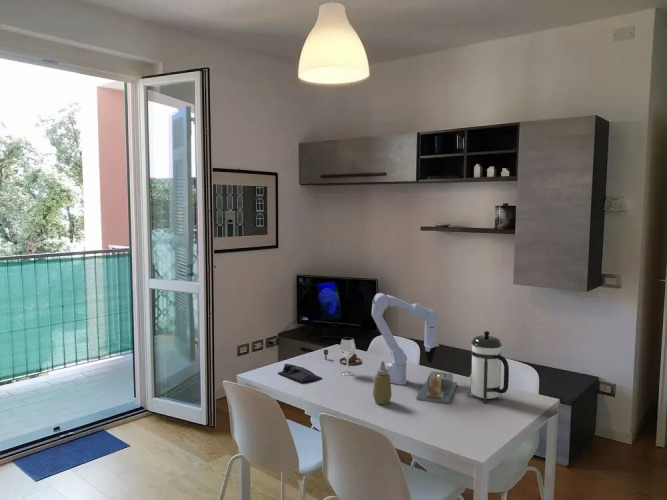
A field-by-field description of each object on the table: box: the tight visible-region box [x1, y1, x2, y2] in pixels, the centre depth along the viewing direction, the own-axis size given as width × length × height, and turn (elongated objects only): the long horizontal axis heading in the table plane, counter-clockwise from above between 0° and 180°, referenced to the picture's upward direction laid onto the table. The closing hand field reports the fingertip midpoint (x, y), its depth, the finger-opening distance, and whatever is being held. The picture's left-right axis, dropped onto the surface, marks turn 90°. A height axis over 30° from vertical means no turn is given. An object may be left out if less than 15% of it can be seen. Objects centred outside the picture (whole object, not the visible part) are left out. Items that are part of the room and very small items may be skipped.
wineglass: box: [339, 336, 357, 377], centre depth 253 cm, size 8×8×18 cm
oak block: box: [429, 377, 441, 396], centre depth 223 cm, size 4×4×6 cm
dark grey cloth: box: [277, 363, 323, 383], centre depth 250 cm, size 15×22×5 cm
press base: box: [415, 371, 458, 405], centre depth 228 cm, size 14×26×5 cm, turn 159°
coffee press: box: [467, 330, 510, 404], centre depth 219 cm, size 17×16×30 cm
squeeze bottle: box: [372, 360, 393, 406], centre depth 215 cm, size 8×8×18 cm
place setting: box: [323, 348, 362, 366], centre depth 276 cm, size 18×20×6 cm
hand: (430, 362), depth 242 cm, fingers closed
